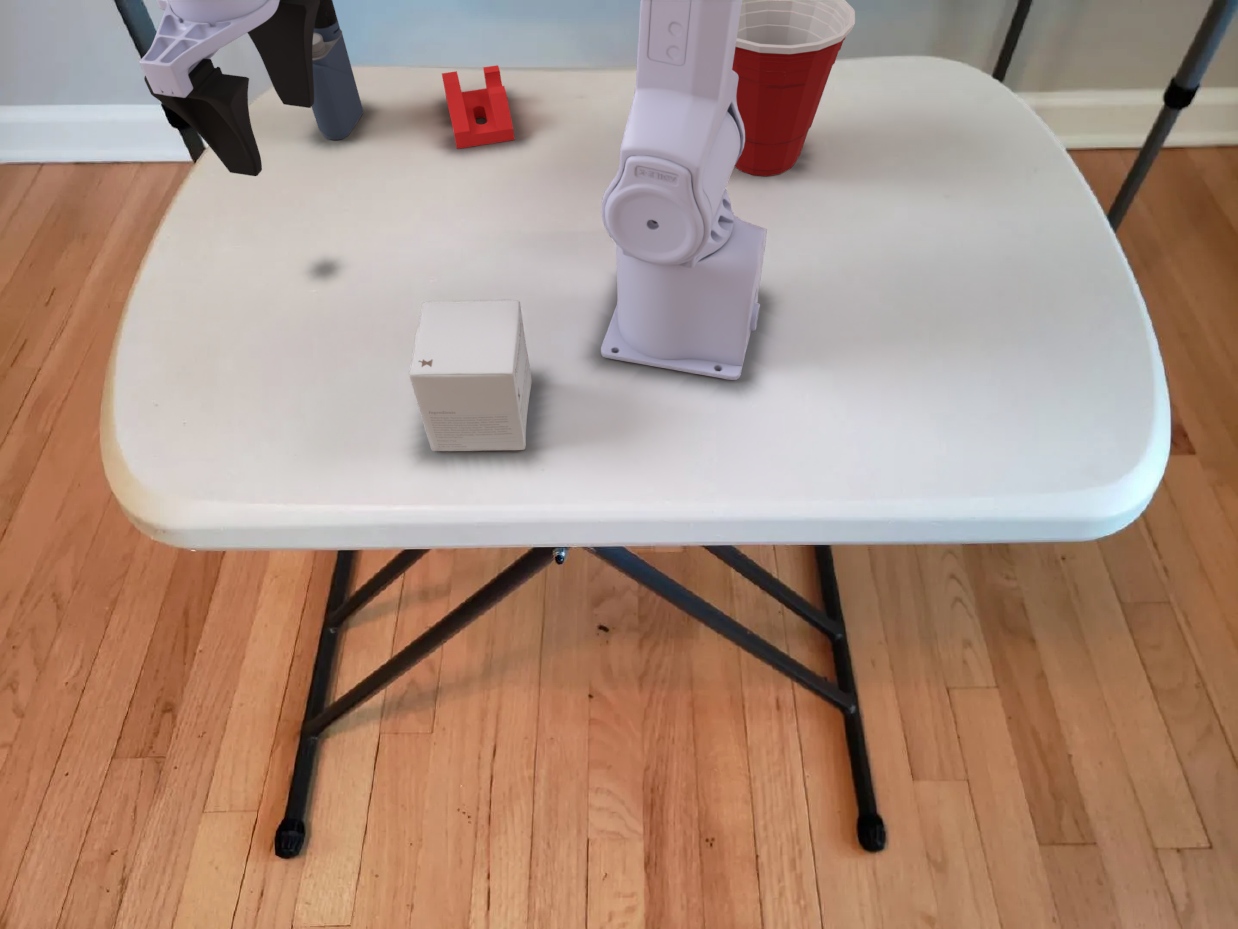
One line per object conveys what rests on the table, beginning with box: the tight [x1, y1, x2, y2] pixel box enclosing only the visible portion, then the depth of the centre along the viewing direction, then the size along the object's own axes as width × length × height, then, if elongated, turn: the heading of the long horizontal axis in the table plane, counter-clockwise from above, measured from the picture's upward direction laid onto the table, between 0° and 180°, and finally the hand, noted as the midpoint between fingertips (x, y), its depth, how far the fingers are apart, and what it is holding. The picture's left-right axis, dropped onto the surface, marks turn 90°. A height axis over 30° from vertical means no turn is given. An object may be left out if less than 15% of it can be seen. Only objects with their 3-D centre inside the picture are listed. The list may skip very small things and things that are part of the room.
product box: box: [408, 299, 533, 452], centre depth 56 cm, size 6×6×7 cm
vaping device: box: [311, 0, 364, 141], centre depth 73 cm, size 3×5×12 cm, turn 167°
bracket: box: [441, 64, 515, 150], centre depth 77 cm, size 6×5×3 cm
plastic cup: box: [732, 0, 856, 177], centre depth 70 cm, size 11×11×12 cm
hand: (273, 136), depth 60 cm, fingers open, 7 cm apart
